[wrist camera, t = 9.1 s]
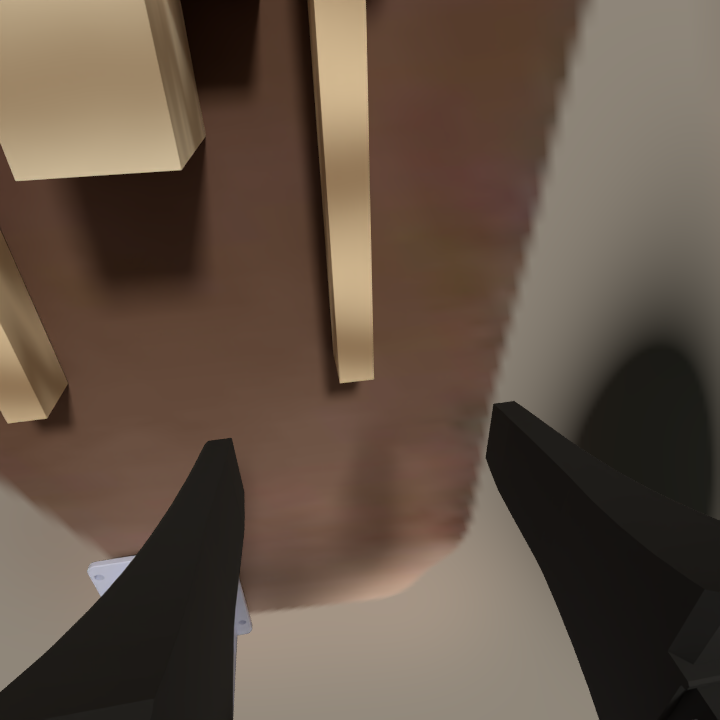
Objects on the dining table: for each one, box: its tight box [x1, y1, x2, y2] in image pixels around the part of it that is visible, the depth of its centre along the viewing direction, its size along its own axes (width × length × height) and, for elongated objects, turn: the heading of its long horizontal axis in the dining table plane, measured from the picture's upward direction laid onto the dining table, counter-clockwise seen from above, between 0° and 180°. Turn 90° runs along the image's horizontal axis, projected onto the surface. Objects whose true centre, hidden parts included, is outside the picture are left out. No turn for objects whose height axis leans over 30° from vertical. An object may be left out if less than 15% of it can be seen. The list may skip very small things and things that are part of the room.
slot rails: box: [0, 0, 374, 423], centre depth 17 cm, size 16×15×2 cm
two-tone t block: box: [0, 0, 206, 181], centre depth 13 cm, size 7×9×6 cm
